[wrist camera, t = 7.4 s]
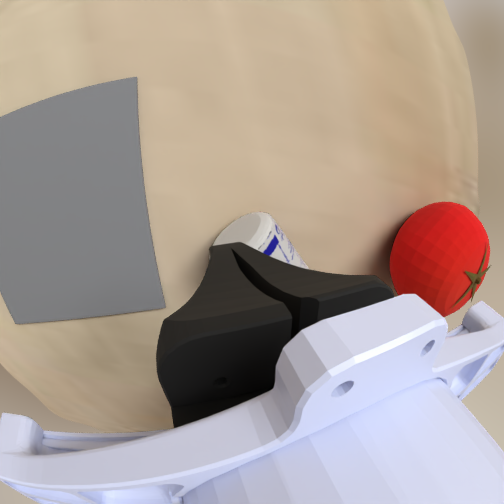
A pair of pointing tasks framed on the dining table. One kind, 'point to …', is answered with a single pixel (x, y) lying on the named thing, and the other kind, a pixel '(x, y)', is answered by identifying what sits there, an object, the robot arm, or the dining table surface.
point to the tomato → (440, 256)
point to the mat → (75, 208)
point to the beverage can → (261, 237)
